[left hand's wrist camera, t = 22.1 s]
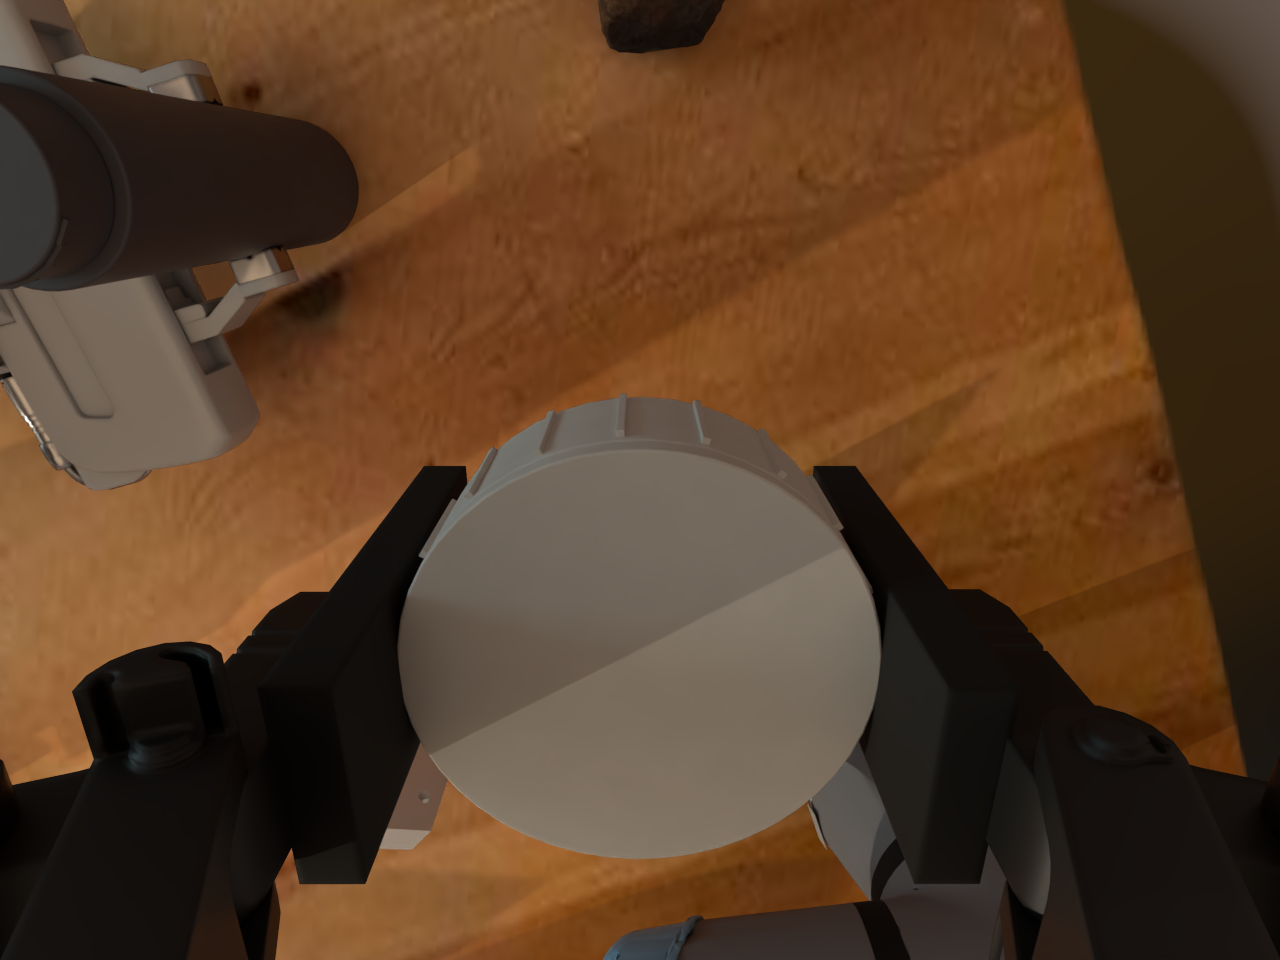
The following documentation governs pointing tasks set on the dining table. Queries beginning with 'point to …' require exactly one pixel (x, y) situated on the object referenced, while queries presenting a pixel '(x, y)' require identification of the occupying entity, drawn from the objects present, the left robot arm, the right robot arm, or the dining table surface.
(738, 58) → the dining table surface
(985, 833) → the left robot arm
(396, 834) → the white angled block
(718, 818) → the lid
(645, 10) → the decorative rock
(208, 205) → the dark grey thermos bottle
